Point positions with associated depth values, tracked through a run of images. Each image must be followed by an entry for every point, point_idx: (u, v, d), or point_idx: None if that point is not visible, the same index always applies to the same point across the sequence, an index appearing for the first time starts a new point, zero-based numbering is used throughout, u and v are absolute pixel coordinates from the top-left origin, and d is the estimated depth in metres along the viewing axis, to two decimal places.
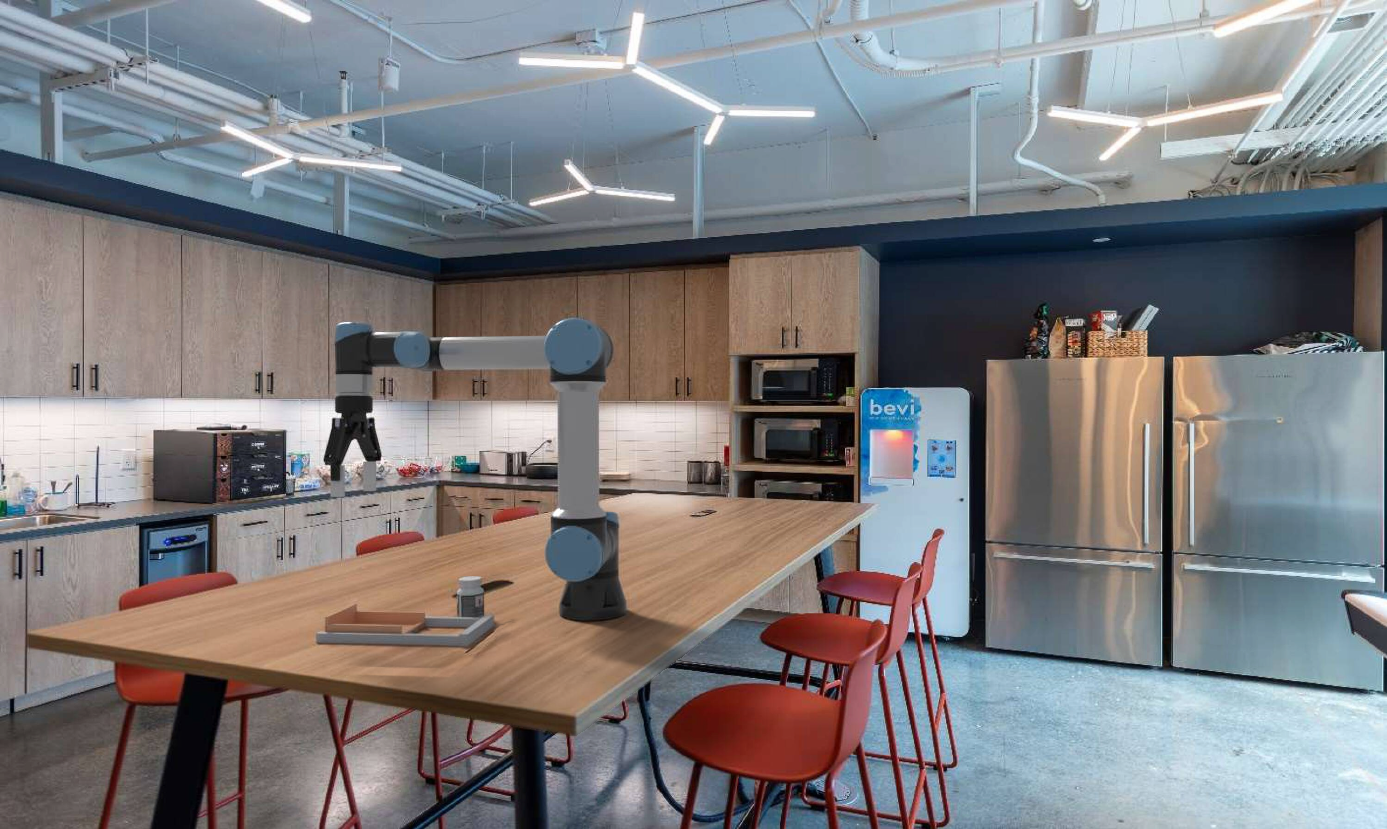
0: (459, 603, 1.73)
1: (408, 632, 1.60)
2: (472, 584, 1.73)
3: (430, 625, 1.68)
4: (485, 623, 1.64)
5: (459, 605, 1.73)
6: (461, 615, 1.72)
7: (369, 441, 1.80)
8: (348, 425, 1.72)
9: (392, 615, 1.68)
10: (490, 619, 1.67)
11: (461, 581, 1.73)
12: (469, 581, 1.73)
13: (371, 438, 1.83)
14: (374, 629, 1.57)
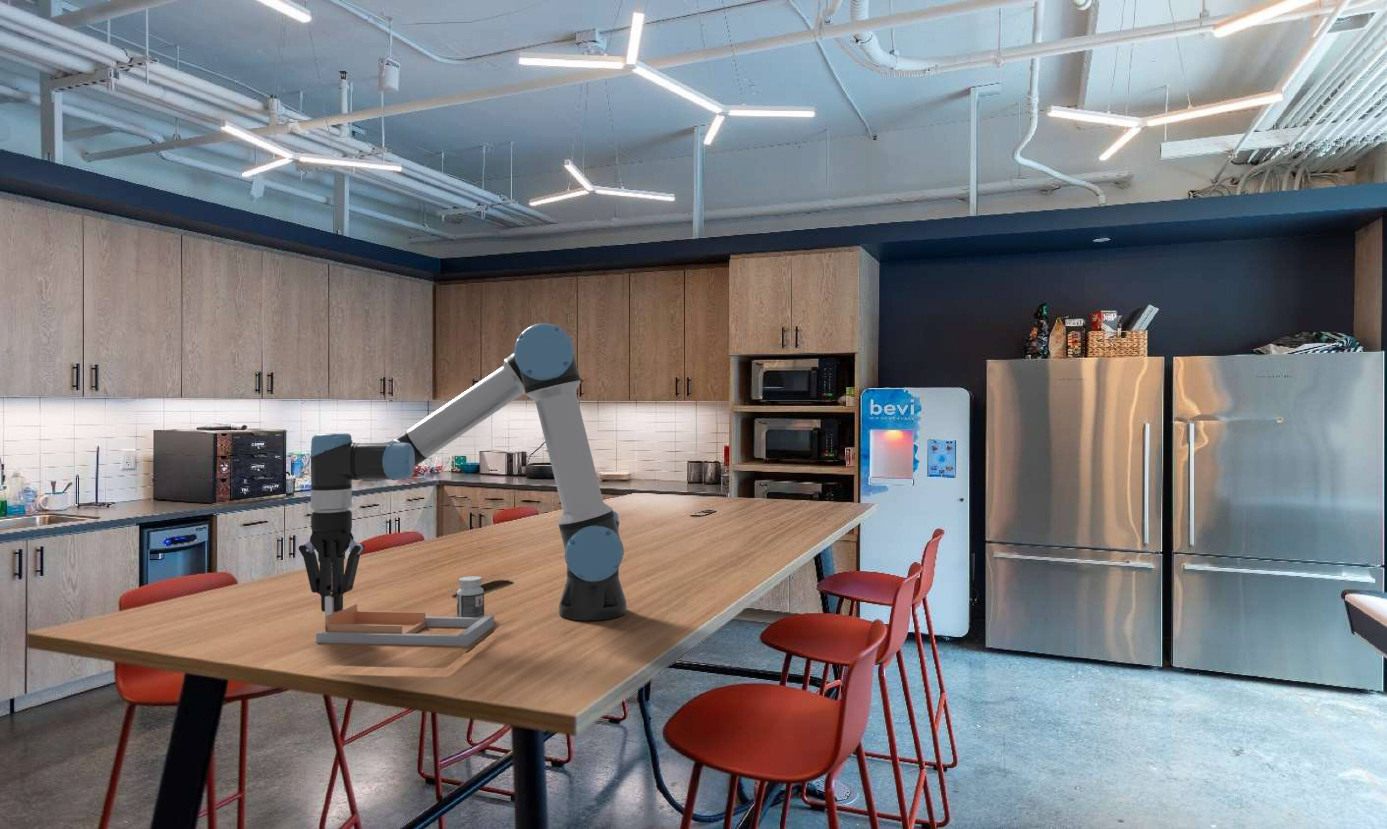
0: (459, 603, 1.73)
1: (408, 632, 1.60)
2: (472, 584, 1.73)
3: (430, 625, 1.68)
4: (485, 623, 1.64)
5: (459, 605, 1.73)
6: (461, 615, 1.72)
7: (334, 567, 1.63)
8: None
9: (392, 615, 1.68)
10: (490, 619, 1.67)
11: (461, 581, 1.73)
12: (469, 581, 1.73)
13: None
14: (374, 629, 1.57)
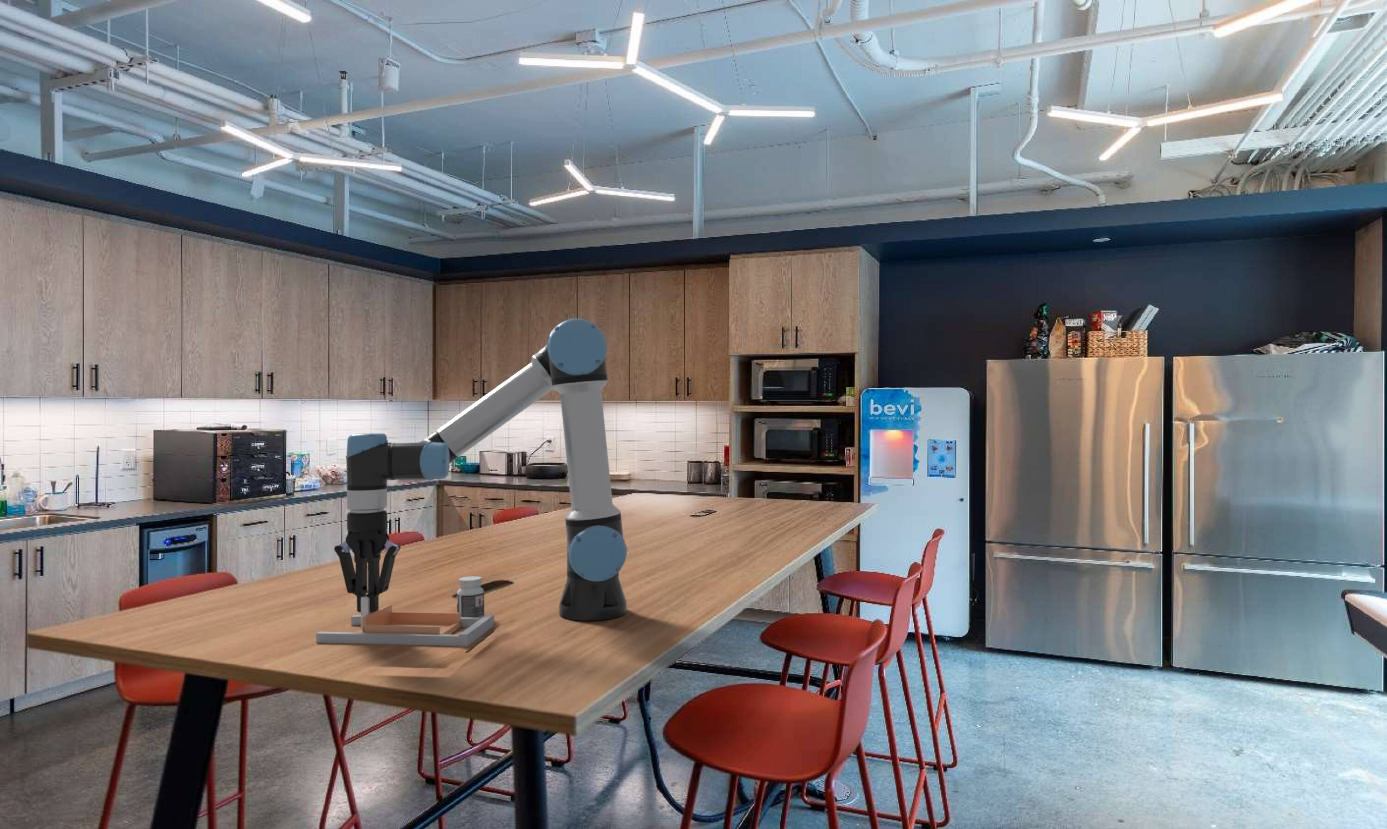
0: (459, 603, 1.73)
1: (445, 633, 1.60)
2: (472, 584, 1.73)
3: None
4: (485, 623, 1.64)
5: (459, 605, 1.73)
6: (461, 615, 1.72)
7: (370, 568, 1.62)
8: None
9: (427, 616, 1.67)
10: (490, 619, 1.67)
11: (461, 581, 1.73)
12: (469, 581, 1.73)
13: None
14: (412, 630, 1.57)
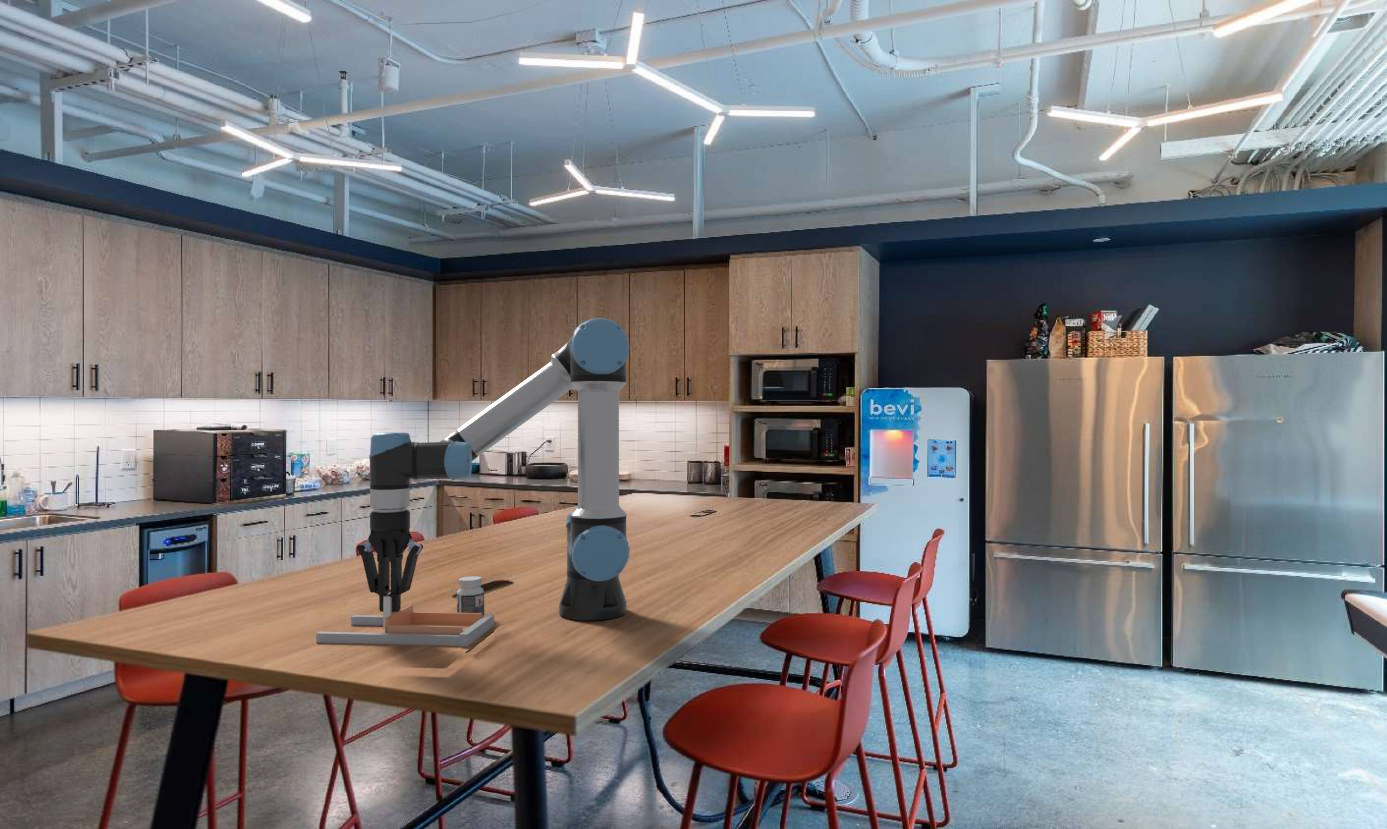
0: (459, 603, 1.73)
1: None
2: (472, 584, 1.73)
3: None
4: (485, 623, 1.64)
5: (459, 605, 1.73)
6: None
7: (393, 567, 1.62)
8: None
9: (449, 616, 1.67)
10: (490, 619, 1.67)
11: (461, 581, 1.73)
12: (469, 581, 1.73)
13: None
14: (435, 630, 1.56)
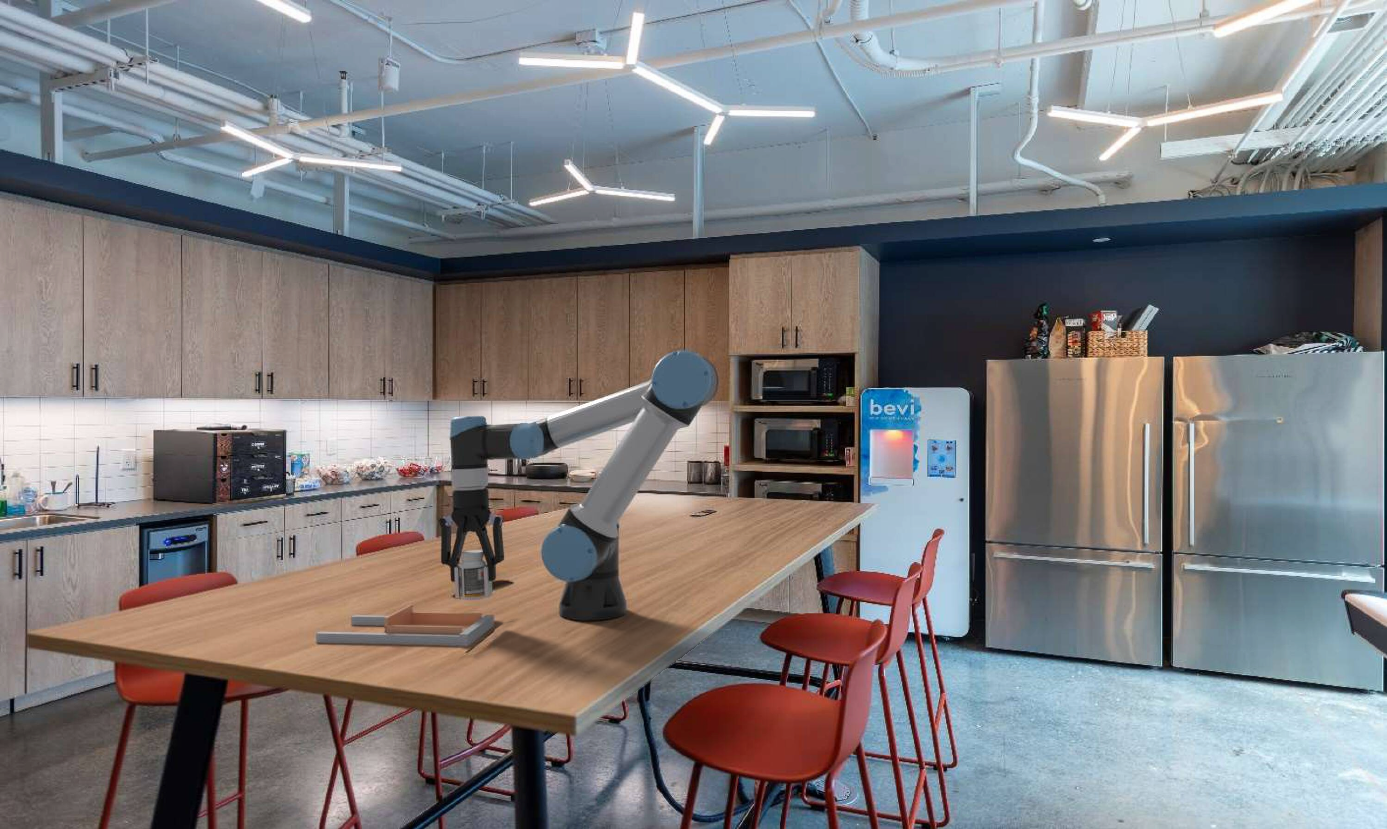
0: (462, 576, 1.73)
1: None
2: (474, 557, 1.73)
3: None
4: (485, 623, 1.64)
5: (462, 578, 1.73)
6: (464, 588, 1.72)
7: (482, 540, 1.73)
8: (454, 520, 1.74)
9: (448, 616, 1.67)
10: (490, 619, 1.67)
11: (463, 554, 1.73)
12: (471, 554, 1.73)
13: None
14: (434, 630, 1.56)
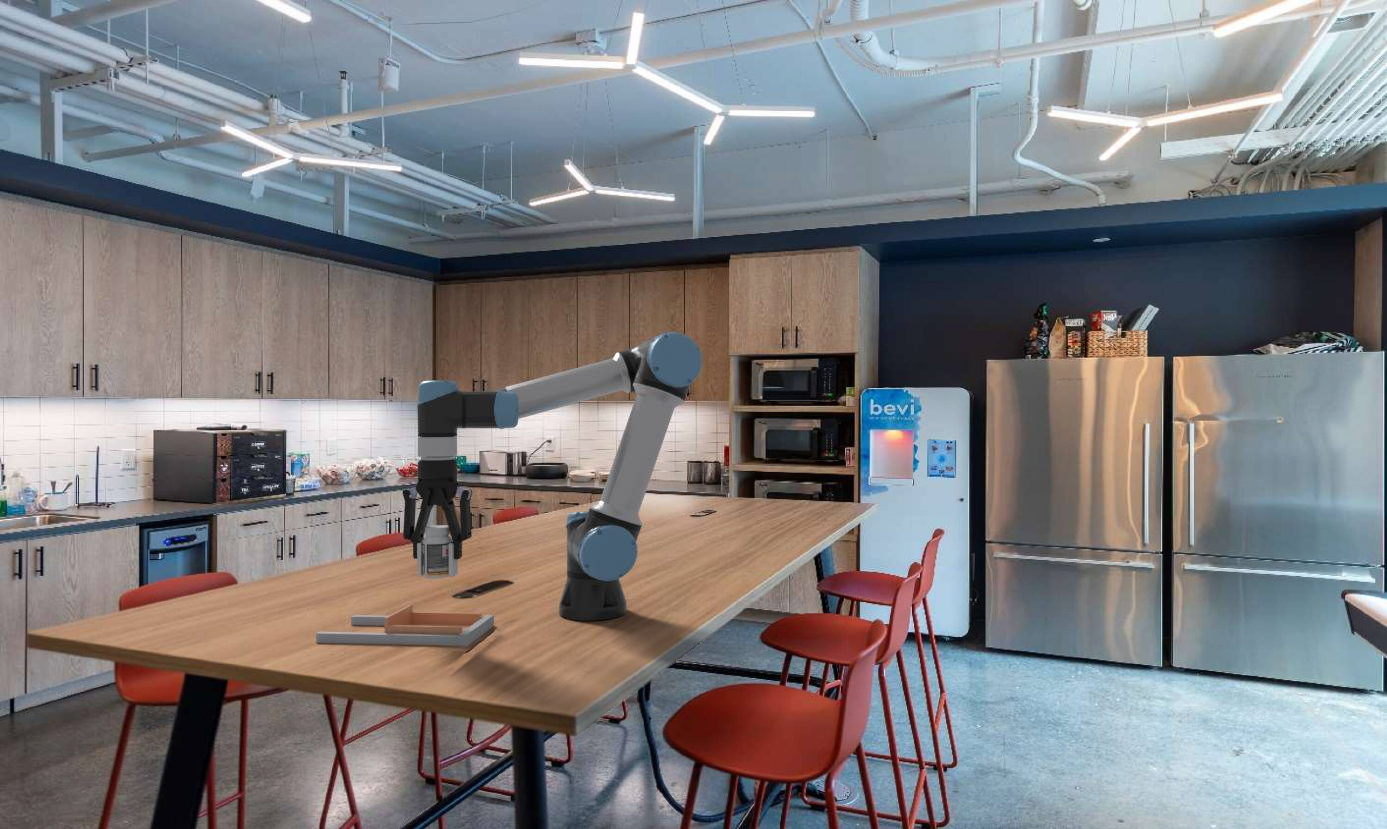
0: (425, 553, 1.60)
1: None
2: (438, 532, 1.60)
3: None
4: (485, 623, 1.64)
5: (425, 555, 1.60)
6: (427, 566, 1.59)
7: (448, 515, 1.61)
8: (418, 492, 1.62)
9: (448, 616, 1.67)
10: (490, 619, 1.67)
11: (427, 529, 1.60)
12: (436, 529, 1.60)
13: None
14: (434, 630, 1.56)
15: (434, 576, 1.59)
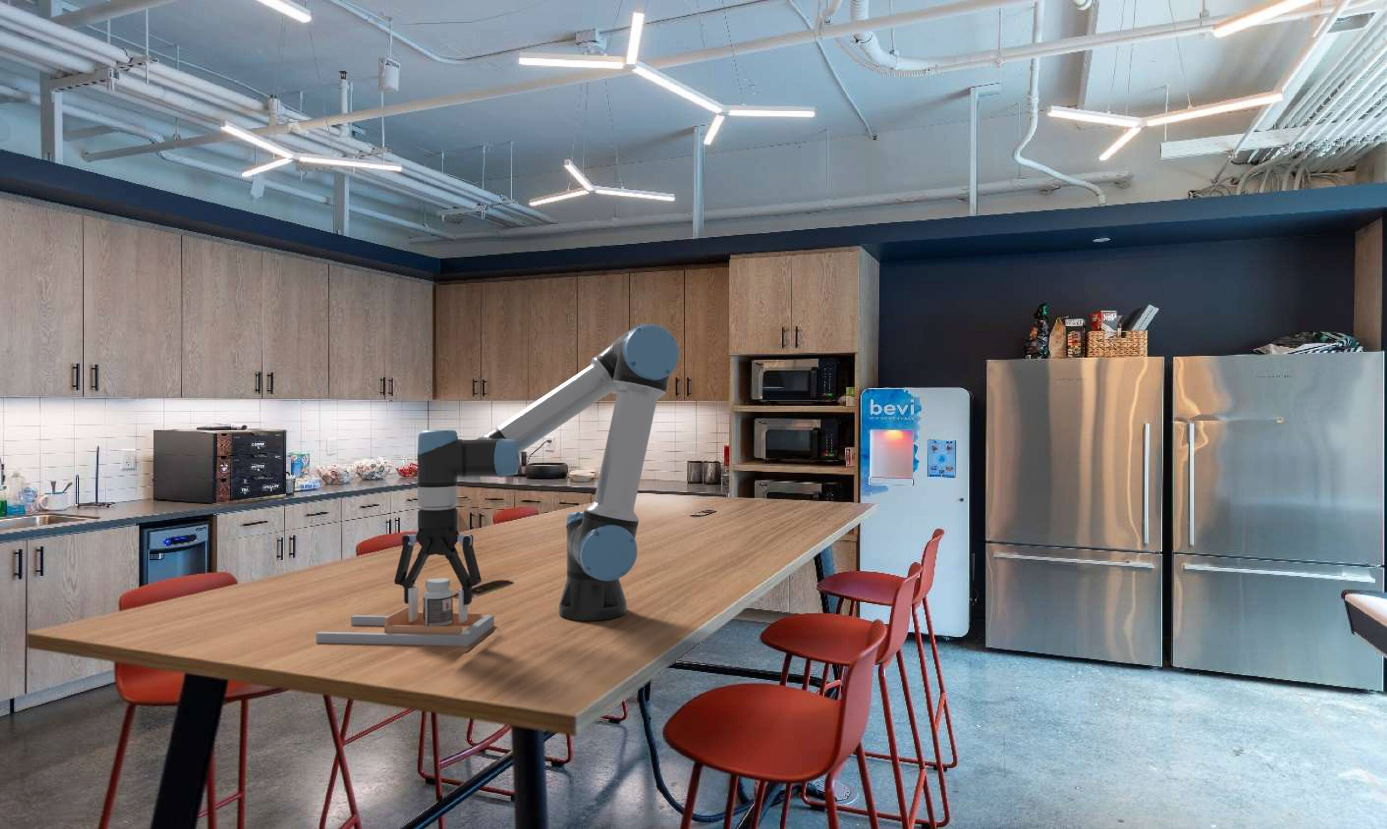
0: (425, 607, 1.60)
1: None
2: (439, 586, 1.60)
3: None
4: (485, 623, 1.64)
5: (425, 609, 1.60)
6: (428, 620, 1.59)
7: (453, 562, 1.61)
8: (418, 541, 1.62)
9: None
10: (490, 619, 1.67)
11: (427, 583, 1.60)
12: (436, 583, 1.60)
13: None
14: (434, 630, 1.56)
15: None
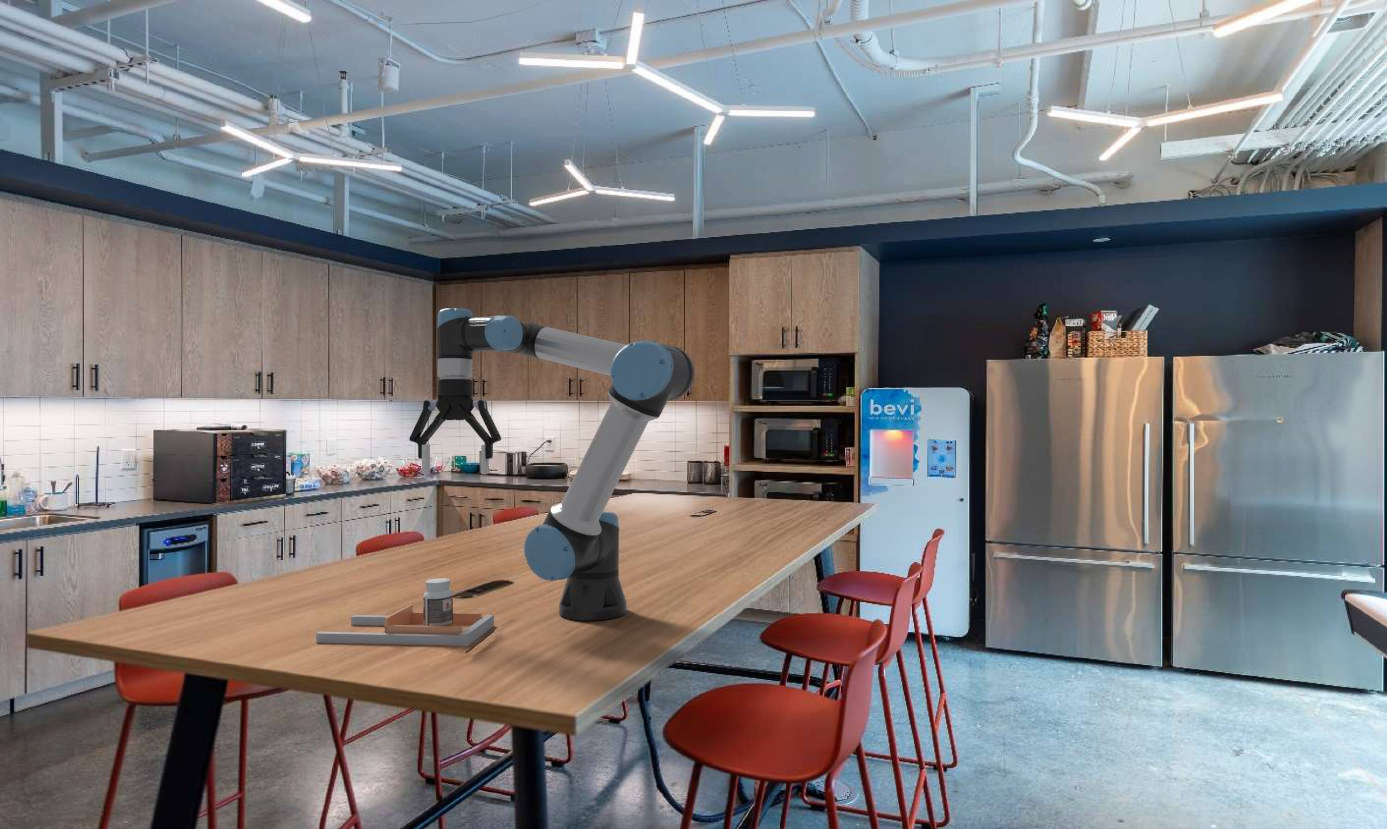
0: (425, 607, 1.60)
1: None
2: (439, 586, 1.60)
3: None
4: (485, 623, 1.64)
5: (425, 609, 1.60)
6: (428, 620, 1.59)
7: (472, 424, 1.81)
8: (437, 407, 1.82)
9: None
10: (490, 619, 1.67)
11: (427, 583, 1.60)
12: (436, 583, 1.60)
13: None
14: (434, 630, 1.56)
15: None
